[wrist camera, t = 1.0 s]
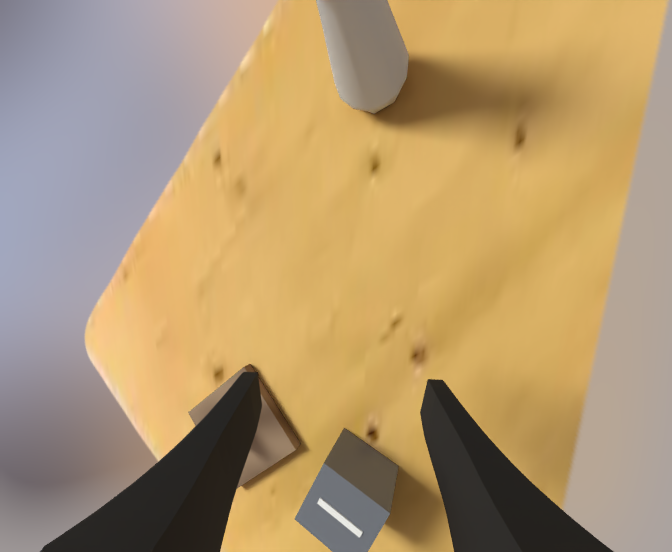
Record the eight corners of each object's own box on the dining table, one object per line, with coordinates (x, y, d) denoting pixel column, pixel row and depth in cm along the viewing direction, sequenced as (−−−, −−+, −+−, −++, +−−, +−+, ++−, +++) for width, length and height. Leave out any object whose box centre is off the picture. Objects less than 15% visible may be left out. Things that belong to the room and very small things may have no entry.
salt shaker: (421, 100, 23) (408, -93, 11) (357, 136, 25) (284, 4, 13) (395, 39, 24) (354, -209, 12) (334, 78, 26) (243, -101, 13)
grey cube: (398, 466, 24) (390, 514, 19) (370, 514, 25) (355, 573, 20) (344, 427, 26) (323, 463, 21) (319, 474, 27) (294, 520, 22)
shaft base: (300, 443, 27) (277, 473, 23) (238, 484, 29) (208, 517, 25) (250, 363, 29) (220, 378, 25) (195, 408, 31) (160, 428, 27)
